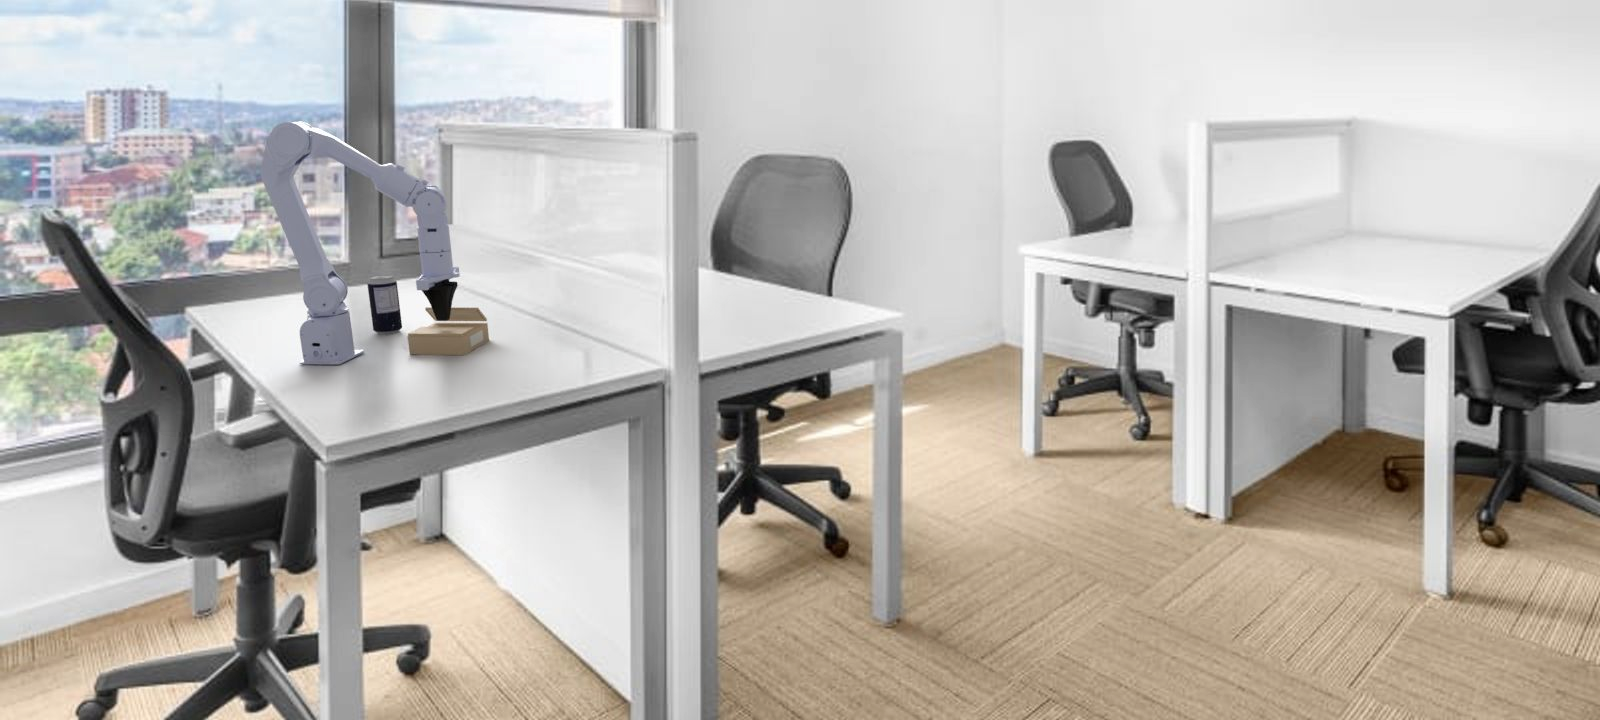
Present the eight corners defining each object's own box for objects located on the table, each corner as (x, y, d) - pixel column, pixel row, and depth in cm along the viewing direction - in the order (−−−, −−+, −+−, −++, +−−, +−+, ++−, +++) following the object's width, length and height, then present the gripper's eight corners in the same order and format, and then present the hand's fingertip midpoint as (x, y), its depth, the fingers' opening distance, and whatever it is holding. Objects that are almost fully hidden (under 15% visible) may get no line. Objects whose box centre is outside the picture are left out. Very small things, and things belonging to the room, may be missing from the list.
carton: (465, 354, 194) (463, 333, 193) (409, 354, 195) (407, 333, 194) (489, 340, 206) (487, 320, 204) (437, 339, 207) (434, 319, 206)
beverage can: (407, 329, 216) (400, 274, 213) (394, 335, 211) (387, 279, 208) (382, 329, 217) (375, 274, 214) (368, 335, 211) (361, 279, 208)
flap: (477, 310, 200) (478, 307, 200) (425, 310, 201) (425, 307, 201) (486, 321, 204) (486, 319, 205) (435, 321, 205) (435, 318, 206)
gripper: (438, 256, 186) (446, 328, 190) (471, 245, 200) (478, 312, 204) (402, 256, 187) (410, 328, 190) (436, 245, 201) (444, 312, 204)
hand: (443, 320), depth 197 cm, fingers closed
